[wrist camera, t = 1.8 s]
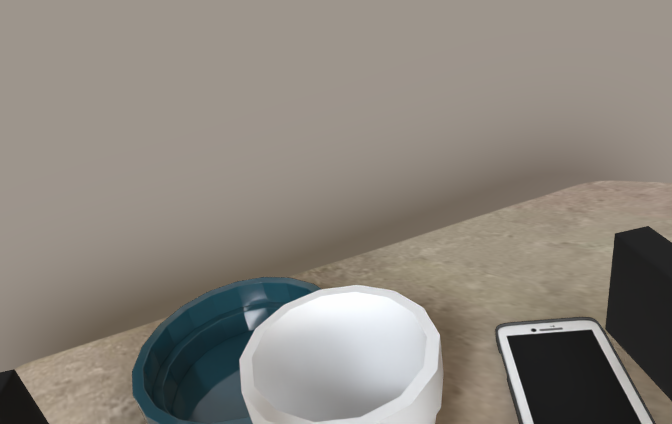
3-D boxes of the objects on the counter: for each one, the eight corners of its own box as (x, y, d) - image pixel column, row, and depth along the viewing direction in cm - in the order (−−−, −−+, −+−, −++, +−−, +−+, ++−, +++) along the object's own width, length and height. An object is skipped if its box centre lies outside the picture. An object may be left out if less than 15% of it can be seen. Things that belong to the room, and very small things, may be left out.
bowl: (128, 500, 34) (99, 451, 31) (180, 337, 47) (162, 293, 45) (365, 463, 33) (353, 410, 31) (347, 309, 47) (338, 263, 44)
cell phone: (544, 517, 28) (544, 506, 28) (492, 332, 41) (492, 322, 41) (697, 513, 27) (700, 502, 27) (595, 324, 40) (596, 314, 39)
